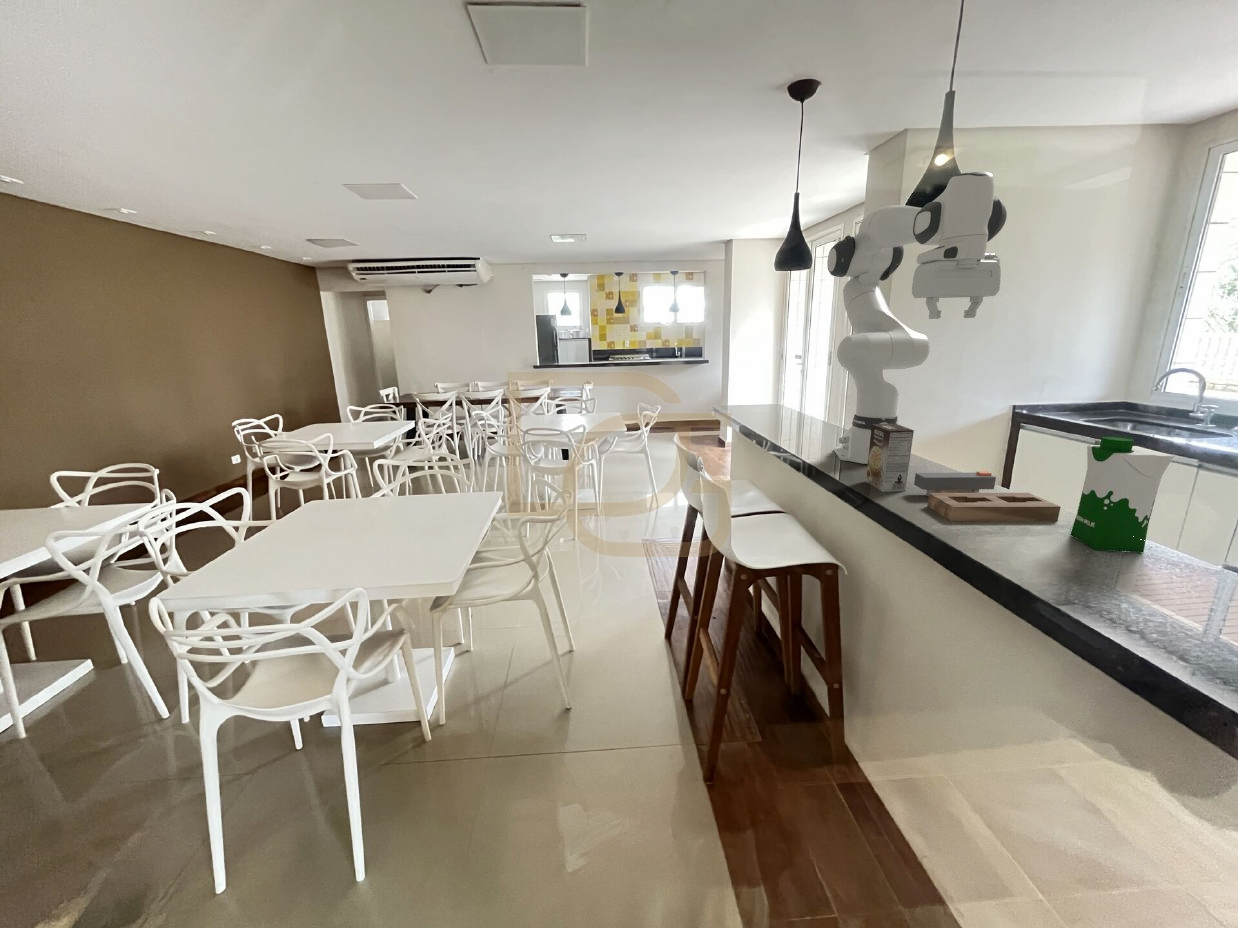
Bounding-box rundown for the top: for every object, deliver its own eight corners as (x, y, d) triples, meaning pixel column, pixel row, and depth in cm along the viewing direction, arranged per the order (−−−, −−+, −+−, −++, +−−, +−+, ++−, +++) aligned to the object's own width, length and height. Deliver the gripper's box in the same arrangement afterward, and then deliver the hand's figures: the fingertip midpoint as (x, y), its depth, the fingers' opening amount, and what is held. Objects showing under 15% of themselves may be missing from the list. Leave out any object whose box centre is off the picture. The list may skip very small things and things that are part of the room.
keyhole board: (927, 507, 109) (929, 493, 108) (1025, 507, 107) (1027, 492, 106) (950, 522, 100) (952, 506, 99) (1057, 522, 99) (1060, 506, 98)
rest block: (932, 494, 117) (934, 485, 117) (963, 494, 117) (964, 484, 116) (939, 498, 114) (941, 488, 114) (970, 498, 114) (972, 488, 113)
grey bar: (912, 493, 118) (915, 470, 116) (981, 492, 117) (985, 470, 115) (921, 498, 114) (924, 475, 113) (992, 498, 113) (996, 474, 111)
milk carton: (1061, 533, 94) (1083, 433, 88) (1115, 535, 92) (1142, 433, 87) (1094, 552, 85) (1121, 443, 80) (1155, 555, 83) (1186, 444, 78)
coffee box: (864, 482, 129) (870, 423, 125) (888, 481, 129) (895, 423, 124) (881, 492, 120) (888, 430, 116) (907, 492, 120) (915, 429, 116)
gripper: (987, 256, 110) (977, 318, 114) (910, 256, 107) (903, 320, 110) (1013, 251, 104) (1003, 316, 108) (933, 250, 101) (925, 318, 104)
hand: (951, 318), depth 109 cm, fingers open, 8 cm apart
